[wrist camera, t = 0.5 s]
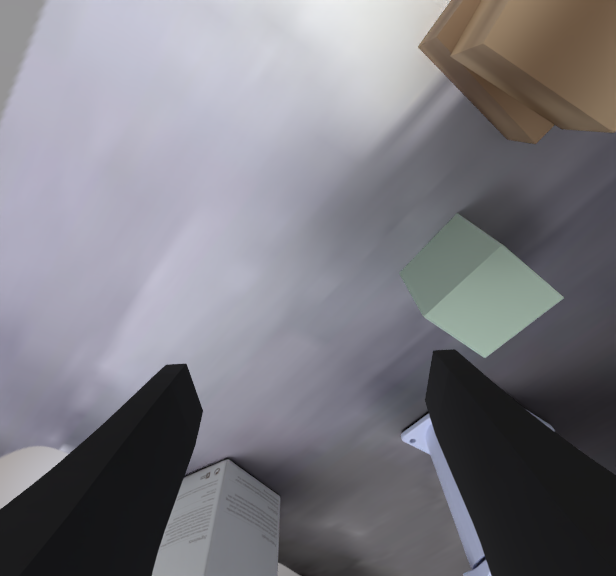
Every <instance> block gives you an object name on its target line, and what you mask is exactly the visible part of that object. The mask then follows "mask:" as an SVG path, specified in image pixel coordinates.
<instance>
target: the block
mask: <svg viewBox="0 0 616 576" xmlns="http://www.w3.org/2000/svg"><path fill="white" fill-rule="evenodd" d="M399 274H400V276H401V278H402V279H403V281H404V283H405V285H406V286H407V288H408V290H409V292H410V294H411V295H412V297H413V299H414V301H415V303H416V304H417V306H418V308H419V310H420V311H421V313H422V315H423V317H425V318H426V319H428V320H429V321H431V322H432V323H434V324H435V325H436V326H438V327H439V328H441V329H442V330H444V331H445V332H447V333H448V334H450V335H451V336H453V337H454V338H456V339H457V340H459V341H460V342H462V343H463V344H465V345H466V346H468V347H469V348H471V349H472V350H473V351H475V352H476V353H478V354H479V355H481V356H482V357H484V358H486V357H487V356H488V355H490V354H491V353H492V352H494V351H495V350H496V349H498V348H499V347H500V346H501V345H503V344H504V343H505V342H507V341H508V340H509V339H511V338H512V337H513V336H515V335H516V334H517V333H519V332H520V331H521V330H523V329H524V328H525V327H526V326H528V325H529V324H530V323H532V322H533V321H534V320H536V319H537V318H538V317H540V316H541V315H542V314H544V313H545V312H546V311H548V310H549V309H550V308H551V307H553V306H554V305H555V304H557V303H558V302H559V301H561V300H562V299H563V298H564V297H563V296H562V295H560V294H559V293H558V292H557V291H556V290H555V289H553V288H552V287H551V286H550V285H549V284H548V283H546V282H545V281H544V280H543V279H542V278H541V277H539V276H538V275H537V274H536V273H535V272H534V271H533V270H531V269H530V268H529V267H528V266H527V265H526V264H524V263H523V262H522V261H521V260H520V259H519V258H517V257H516V256H515V255H514V254H513V253H512V252H510V251H509V250H508V249H507V248H506V247H505V246H504V245H502V244H501V243H499V242H498V241H497V240H495V239H494V238H492V237H491V236H489V235H488V234H487V233H485V232H484V231H482V230H481V229H479V228H478V227H476V226H475V225H474V224H472V223H471V222H469V221H468V220H466V219H465V218H464V217H462V216H461V215H459V214H458V213H457V214H456V215H455V216H454V217H453V218H452V219H451V220H450V221H449V222H448V223H447V224H446V225H445V226H444V227H443V228H442V229H441V230H440V231H439V232H438V233H437V234H436V235H435V236H434V237H433V239H432V240H431V241H430V242H429V243H428V244H427V245H426V246H425V247H424V248H423V249H422V250H421V251H420V252H419V253H418V254H417V255H416V256H415V257H414V258H413V259H412V260H411V261H410V262H409V263H408V264H407V265H406V267H405V268H404V269H403V270H402V271H401V272H400V273H399Z"/></svg>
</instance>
